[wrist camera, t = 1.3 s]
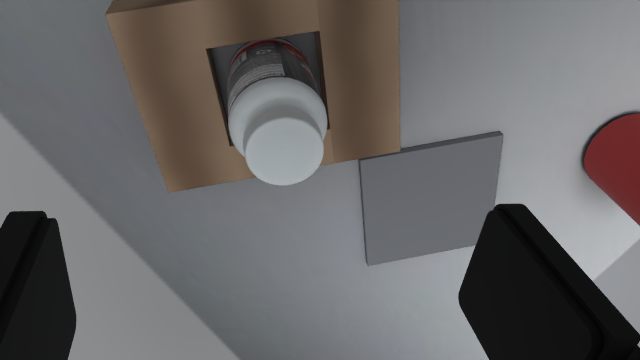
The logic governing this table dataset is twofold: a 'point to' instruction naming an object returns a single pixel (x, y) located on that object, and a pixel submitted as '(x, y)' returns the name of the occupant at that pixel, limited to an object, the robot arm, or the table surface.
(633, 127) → the beer can
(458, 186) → the charcoal mat
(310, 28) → the brown flat hollow frame
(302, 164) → the pill bottle
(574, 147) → the table surface
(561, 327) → the robot arm
